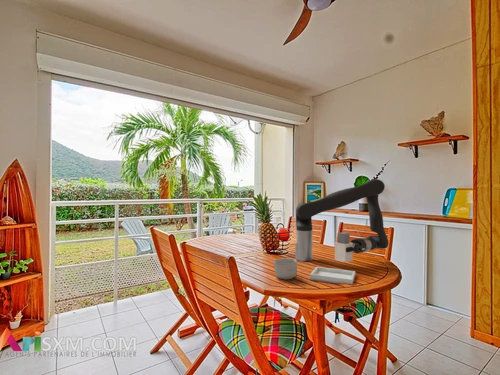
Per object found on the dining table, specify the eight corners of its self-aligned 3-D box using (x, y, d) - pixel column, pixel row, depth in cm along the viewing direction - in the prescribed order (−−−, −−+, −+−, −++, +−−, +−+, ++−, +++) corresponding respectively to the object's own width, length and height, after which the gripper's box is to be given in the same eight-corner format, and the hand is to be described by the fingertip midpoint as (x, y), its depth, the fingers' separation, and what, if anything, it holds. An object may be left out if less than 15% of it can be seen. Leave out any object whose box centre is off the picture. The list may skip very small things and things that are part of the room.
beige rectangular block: (345, 262, 134) (345, 244, 134) (334, 259, 139) (334, 242, 139) (352, 260, 138) (352, 242, 138) (342, 258, 143) (342, 241, 143)
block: (344, 260, 136) (344, 234, 136) (337, 258, 139) (337, 232, 139) (349, 259, 138) (349, 233, 138) (342, 257, 141) (342, 232, 141)
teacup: (291, 282, 119) (291, 264, 119) (269, 278, 125) (269, 261, 125) (303, 274, 131) (303, 258, 131) (282, 271, 136) (282, 255, 137)
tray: (310, 279, 123) (309, 274, 123) (316, 271, 135) (316, 266, 136) (352, 285, 115) (352, 279, 115) (355, 276, 128) (355, 271, 128)
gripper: (349, 236, 152) (329, 239, 143) (373, 240, 141) (353, 243, 131) (349, 249, 152) (329, 253, 143) (373, 254, 140) (353, 259, 131)
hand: (340, 248), depth 137 cm, fingers closed on beige rectangular block, 6 cm apart
